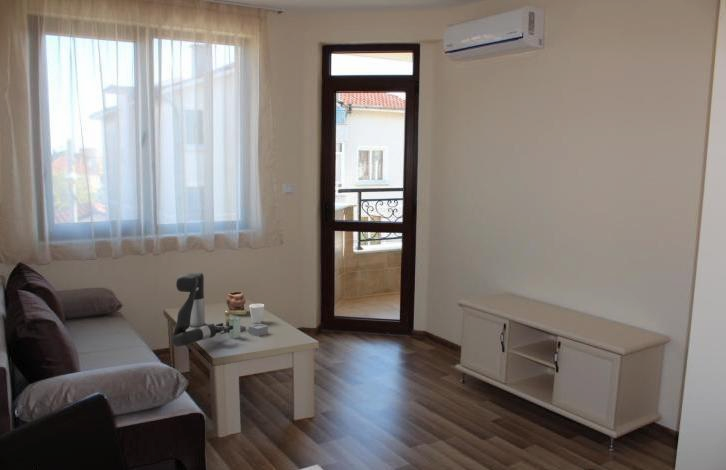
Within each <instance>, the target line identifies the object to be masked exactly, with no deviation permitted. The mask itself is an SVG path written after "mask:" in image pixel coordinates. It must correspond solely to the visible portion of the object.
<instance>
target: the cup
mask: <svg viewBox="0 0 726 470" xmlns="http://www.w3.org/2000/svg"><path fill="white" fill-rule="evenodd" d="M248 307H249V311H250V312H249V313H250V317H251V321H252V323H253V324H262V321H263V315H264V309H265V304H263V303H251V304H249V305H248Z"/></svg>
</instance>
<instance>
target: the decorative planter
mask: <svg viewBox="0 0 726 470" xmlns="http://www.w3.org/2000/svg"><path fill="white" fill-rule="evenodd" d="M225 301H226V306H227V307H228V310H229V311H240V310H245V304H246V299H245V296H244V294H243V292H242V291H234V292H229V293H228V294H227V297H226V300H225Z"/></svg>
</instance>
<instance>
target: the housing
mask: <svg viewBox="0 0 726 470" xmlns="http://www.w3.org/2000/svg"><path fill="white" fill-rule="evenodd" d="M268 333H269V326H268V325H266V324H264V323H263V324H262V323H254V324H252V325H249V326H248V335H251V336H256V337H261V336H263V335H266V334H268Z"/></svg>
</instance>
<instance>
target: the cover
mask: <svg viewBox="0 0 726 470" xmlns="http://www.w3.org/2000/svg"><path fill="white" fill-rule="evenodd" d="M231 325H232V326H233V329H232V330H230V332H228V333H229V338H232V339H237V338H240V337H241V332H240V326H241V318H239V317H231V318H229V326H231Z"/></svg>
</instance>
